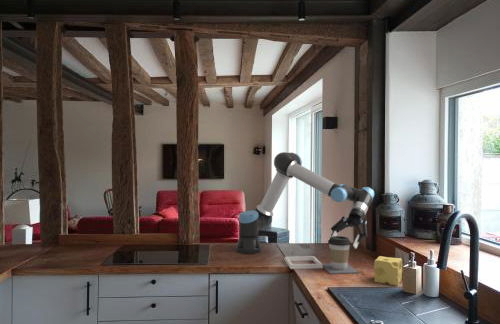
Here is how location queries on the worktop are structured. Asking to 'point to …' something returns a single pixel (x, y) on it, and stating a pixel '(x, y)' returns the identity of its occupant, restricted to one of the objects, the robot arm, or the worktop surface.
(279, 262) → the worktop surface
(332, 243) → the coffee cup
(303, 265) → the holder frame
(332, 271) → the rubber mat
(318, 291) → the worktop surface
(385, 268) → the cheese
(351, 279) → the worktop surface
